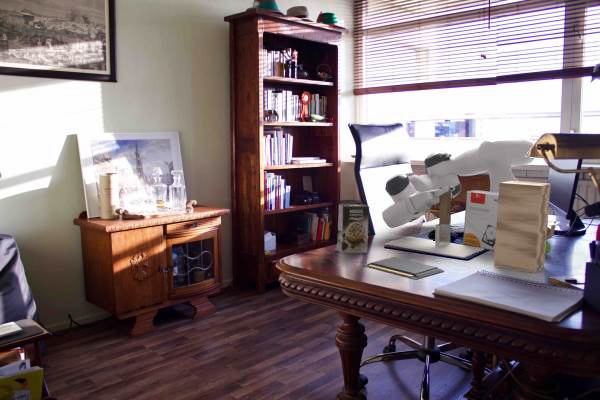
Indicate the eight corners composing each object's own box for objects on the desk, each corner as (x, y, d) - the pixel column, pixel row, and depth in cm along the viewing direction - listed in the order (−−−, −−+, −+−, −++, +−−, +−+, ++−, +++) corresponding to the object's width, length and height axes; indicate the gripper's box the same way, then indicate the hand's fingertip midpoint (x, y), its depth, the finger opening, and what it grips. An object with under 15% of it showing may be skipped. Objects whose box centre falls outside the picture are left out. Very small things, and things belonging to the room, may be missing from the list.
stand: (504, 260, 170) (510, 180, 167) (544, 266, 162) (550, 183, 159) (493, 265, 163) (499, 182, 159) (534, 273, 155) (541, 185, 151)
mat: (408, 237, 205) (408, 236, 205) (484, 249, 185) (484, 248, 185) (384, 244, 191) (384, 243, 191) (463, 258, 172) (463, 257, 172)
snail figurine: (550, 258, 174) (553, 222, 173) (530, 254, 179) (533, 220, 177) (555, 255, 178) (558, 220, 177) (536, 252, 183) (538, 218, 181)
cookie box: (341, 254, 175) (343, 206, 173) (336, 249, 181) (338, 203, 179) (367, 253, 176) (369, 206, 174) (361, 249, 183) (363, 203, 181)
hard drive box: (462, 244, 193) (465, 191, 191) (473, 242, 198) (476, 189, 196) (501, 252, 182) (505, 195, 179) (512, 249, 187) (516, 194, 184)
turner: (446, 186, 191) (454, 186, 189) (446, 243, 193) (453, 244, 191) (435, 188, 184) (443, 188, 182) (435, 246, 186) (443, 247, 184)
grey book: (446, 267, 155) (415, 276, 145) (446, 273, 155) (414, 282, 145) (393, 254, 170) (361, 261, 160) (393, 260, 170) (361, 267, 160)
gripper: (435, 208, 201) (466, 193, 192) (409, 214, 186) (442, 198, 177) (428, 193, 202) (459, 178, 194) (402, 198, 187) (434, 181, 178)
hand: (450, 187), depth 185 cm, fingers closed on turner, 3 cm apart
